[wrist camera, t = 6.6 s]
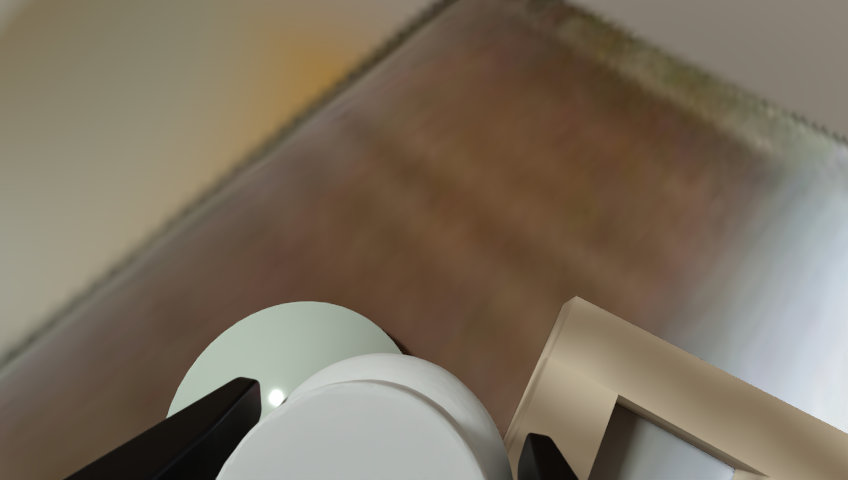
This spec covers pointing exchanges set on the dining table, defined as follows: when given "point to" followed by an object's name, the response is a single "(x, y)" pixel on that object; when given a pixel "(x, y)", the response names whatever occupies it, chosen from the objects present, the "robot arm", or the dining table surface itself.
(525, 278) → the dining table surface
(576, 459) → the socket block
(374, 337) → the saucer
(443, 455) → the pill bottle
